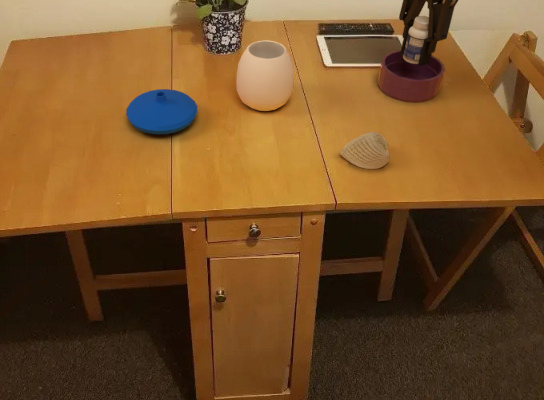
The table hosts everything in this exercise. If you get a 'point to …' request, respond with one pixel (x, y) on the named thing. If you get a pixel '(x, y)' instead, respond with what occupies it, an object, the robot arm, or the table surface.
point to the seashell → (367, 151)
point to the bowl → (410, 78)
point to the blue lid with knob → (161, 111)
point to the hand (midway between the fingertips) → (414, 57)
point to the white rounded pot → (265, 75)
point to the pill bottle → (416, 39)
